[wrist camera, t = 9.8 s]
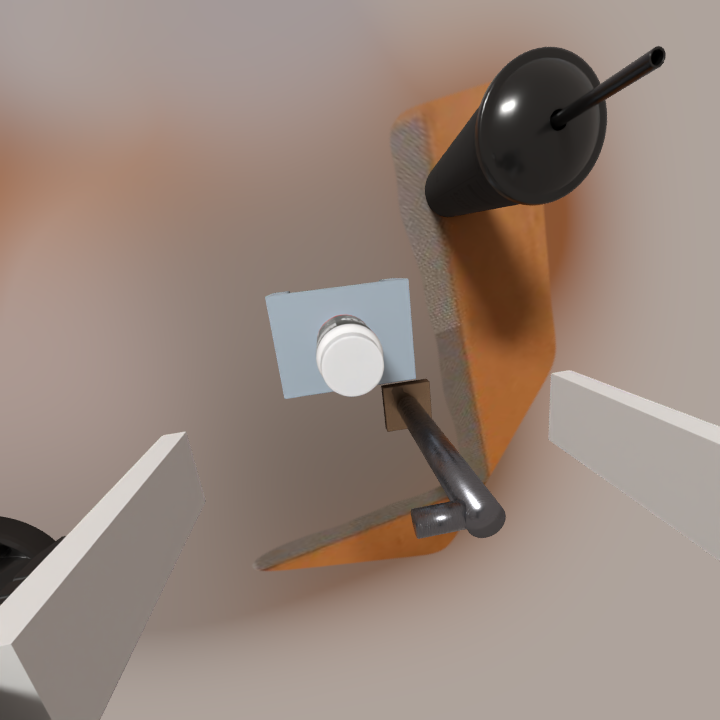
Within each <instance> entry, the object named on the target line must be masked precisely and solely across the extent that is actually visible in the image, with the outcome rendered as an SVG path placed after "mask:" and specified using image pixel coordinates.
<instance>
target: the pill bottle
mask: <svg viewBox="0 0 720 720" xmlns="http://www.w3.org/2000/svg"><path fill="white" fill-rule="evenodd" d="M383 357H384V356H383V348H382V345H381V343H380V341H379V339H378V337H377V336H376V335H375V333H374V332H373V331H372V330H371V329H370V328H369V327H368V326H367V325H366V324H365V323H364V322H363V321H362V320H361V319H359V318H357V317H355V316H352V315H347V314H342V315H337V316H334V317H332V318H330V319H329V320H327V321H326V322H325V323H324V324H323V325H322V327H321V328H320V330H319V332H318V335H317V347H316V362H317V366H318V369H319V372H320V374H321V375H322V377H323V378H324V381H325V382H326V384H327V385H328V386H329V387H330V388H331V389H332V390H333V391H334V392H336V393H338V394H340V395H343V396H348V397H355V396H361V395H364V394H366V393H368V392H369V391H371V390H372V389H373V388H374V387H375V386H376V385H377V384H378V383H379V381H380V380H381V377H382V375H383V371H384V359H383Z"/></svg>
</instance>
